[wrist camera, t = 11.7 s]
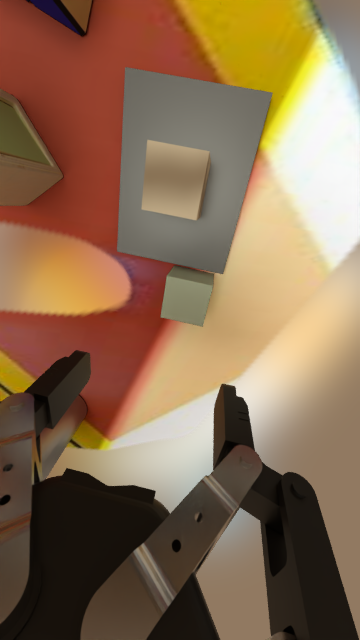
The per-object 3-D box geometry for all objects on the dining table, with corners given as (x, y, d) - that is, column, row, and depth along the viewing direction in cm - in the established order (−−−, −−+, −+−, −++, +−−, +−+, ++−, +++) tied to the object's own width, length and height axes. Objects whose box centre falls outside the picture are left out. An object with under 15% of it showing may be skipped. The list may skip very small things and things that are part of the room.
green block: (204, 309, 30) (202, 326, 26) (168, 301, 31) (160, 317, 26) (213, 273, 28) (213, 285, 24) (174, 265, 28) (166, 275, 24)
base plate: (222, 271, 28) (222, 274, 27) (120, 249, 28) (117, 251, 27) (269, 98, 20) (272, 92, 19) (130, 74, 21) (125, 67, 20)
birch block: (199, 217, 24) (196, 220, 20) (155, 208, 24) (141, 209, 20) (211, 162, 22) (209, 151, 17) (161, 153, 22) (147, 139, 18)
